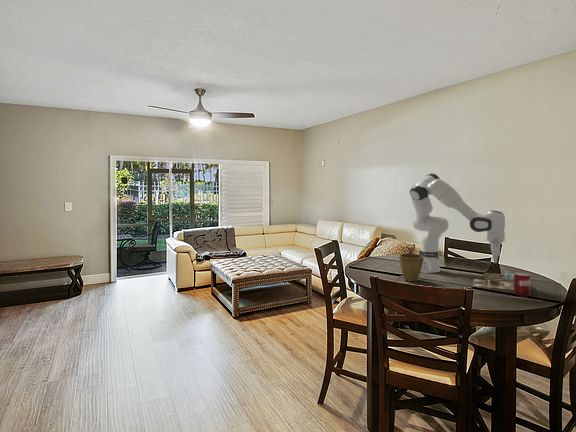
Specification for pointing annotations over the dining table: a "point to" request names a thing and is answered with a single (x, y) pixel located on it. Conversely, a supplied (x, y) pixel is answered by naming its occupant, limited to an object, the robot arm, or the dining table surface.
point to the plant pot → (411, 266)
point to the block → (494, 280)
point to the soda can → (522, 284)
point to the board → (501, 285)
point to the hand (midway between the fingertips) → (495, 261)
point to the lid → (509, 276)
